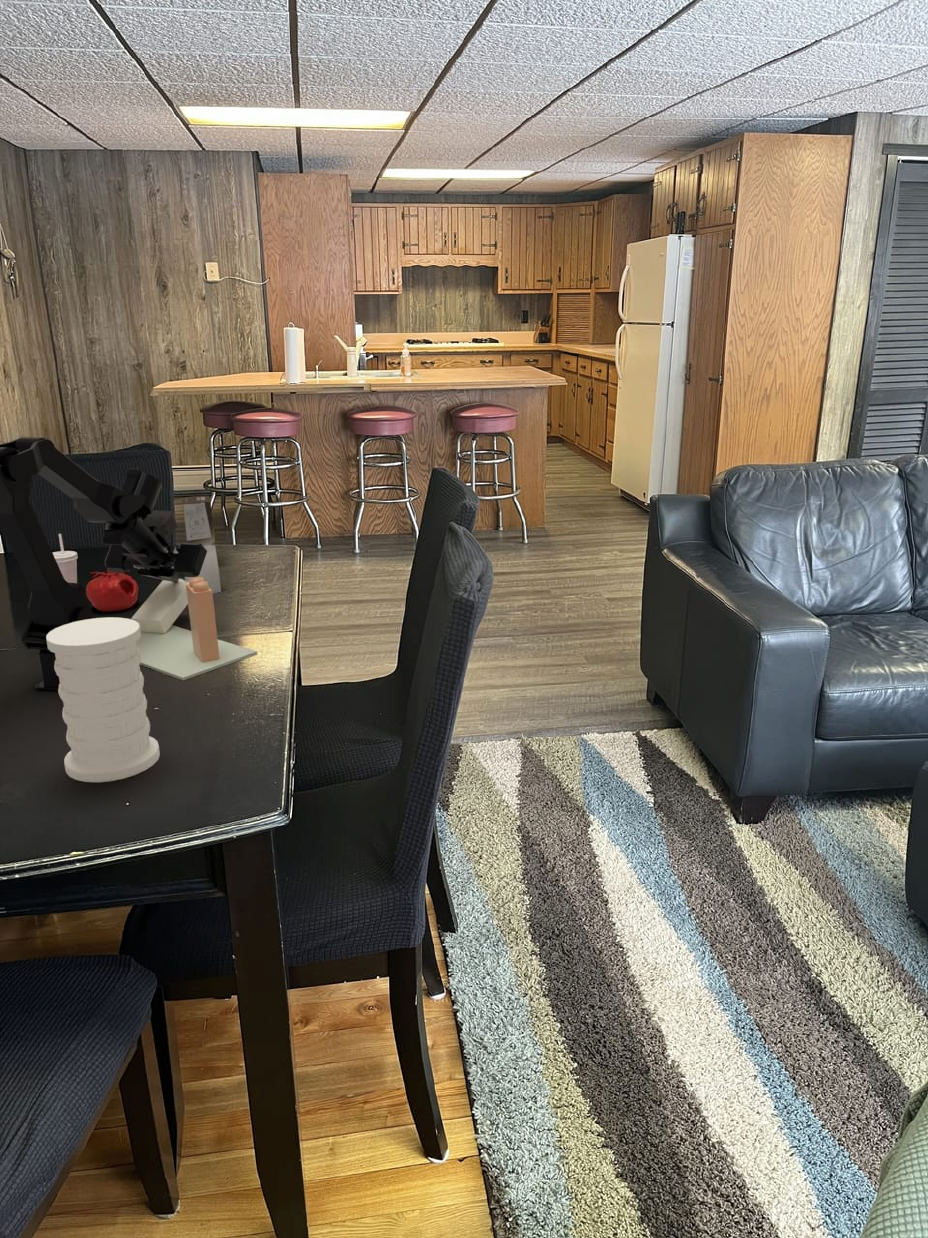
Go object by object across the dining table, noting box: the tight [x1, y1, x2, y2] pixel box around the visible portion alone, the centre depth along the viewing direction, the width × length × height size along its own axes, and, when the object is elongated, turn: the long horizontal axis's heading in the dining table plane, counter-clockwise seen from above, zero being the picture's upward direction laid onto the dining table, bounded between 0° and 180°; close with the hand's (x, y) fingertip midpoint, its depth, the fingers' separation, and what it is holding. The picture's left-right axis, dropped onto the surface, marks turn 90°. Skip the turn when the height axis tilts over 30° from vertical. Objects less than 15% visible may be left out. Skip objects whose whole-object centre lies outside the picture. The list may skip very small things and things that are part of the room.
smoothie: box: [52, 533, 79, 583], centre depth 185 cm, size 6×6×14 cm
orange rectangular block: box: [186, 577, 220, 662], centre depth 150 cm, size 3×6×13 cm, turn 28°
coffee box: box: [181, 495, 216, 546], centre depth 210 cm, size 9×6×16 cm
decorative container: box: [46, 616, 161, 783], centre depth 113 cm, size 12×12×18 cm
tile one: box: [130, 578, 189, 633], centre depth 168 cm, size 3×6×13 cm
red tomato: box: [85, 568, 139, 613], centre depth 179 cm, size 10×10×9 cm
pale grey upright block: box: [184, 544, 222, 594], centre depth 189 cm, size 4×7×10 cm, turn 113°
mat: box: [136, 624, 258, 681], centre depth 156 cm, size 15×29×1 cm, turn 52°
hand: (176, 580), depth 171 cm, fingers closed
